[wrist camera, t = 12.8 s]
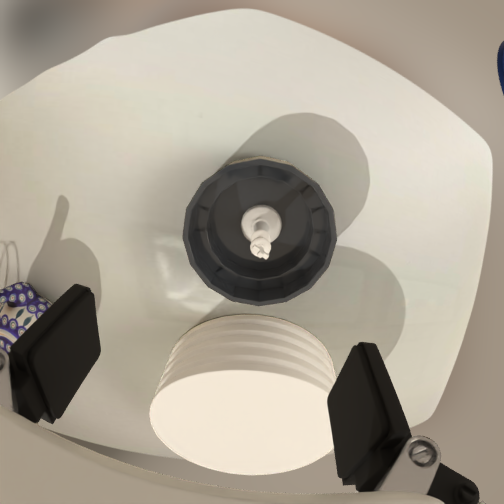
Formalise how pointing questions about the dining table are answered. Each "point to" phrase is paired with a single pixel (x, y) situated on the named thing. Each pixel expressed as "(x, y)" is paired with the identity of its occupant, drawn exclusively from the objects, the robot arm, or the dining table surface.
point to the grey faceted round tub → (238, 246)
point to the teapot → (19, 312)
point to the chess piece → (261, 228)
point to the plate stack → (246, 396)
